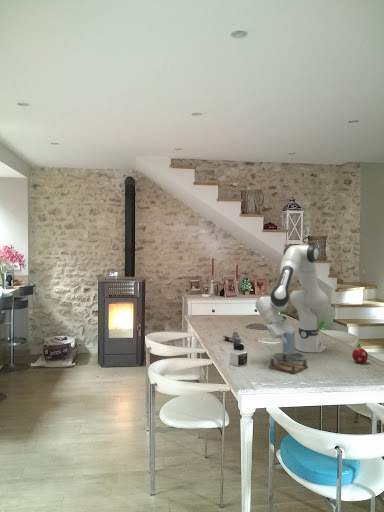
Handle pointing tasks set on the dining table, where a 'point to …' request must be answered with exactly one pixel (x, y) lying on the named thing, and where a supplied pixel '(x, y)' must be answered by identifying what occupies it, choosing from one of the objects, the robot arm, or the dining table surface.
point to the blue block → (290, 345)
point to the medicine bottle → (238, 355)
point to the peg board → (288, 366)
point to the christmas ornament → (360, 355)
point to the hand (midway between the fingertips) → (289, 341)
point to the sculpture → (233, 337)
